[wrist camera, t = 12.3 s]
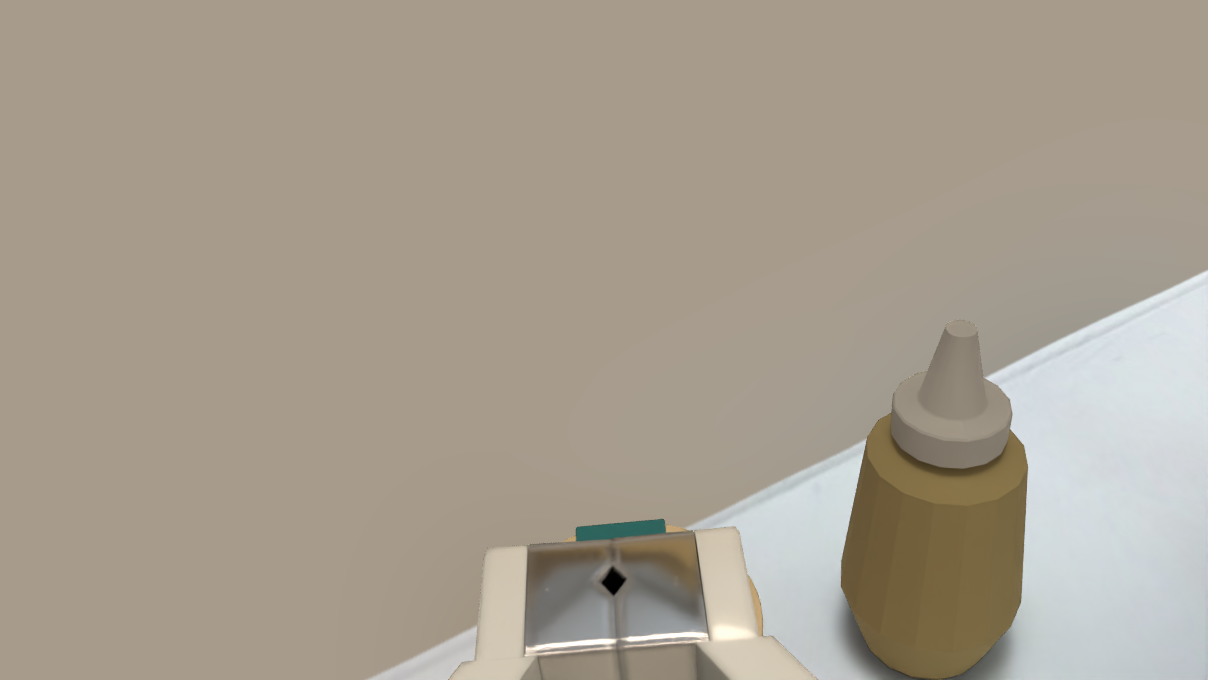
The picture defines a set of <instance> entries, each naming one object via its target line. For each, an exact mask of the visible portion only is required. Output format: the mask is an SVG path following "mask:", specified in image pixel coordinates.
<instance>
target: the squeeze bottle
mask: <svg viewBox="0 0 1208 680" xmlns="http://www.w3.org/2000/svg"><path fill="white" fill-rule="evenodd" d="M1011 420H1012V409H1011V404H1010V400H1009V398H1008V397H1007V396H1006V395H1005V394H1004V393H1003V391H1002V390H1001V389H1000V388H999V387H998V386H997V385H995V384H994V383H992V382H990V381H988V380H987V379H985V378H983V371H982V363H981V356H980V348H979V341H978V332H977V327H976V326H975V325H974V324H972V323H970V322H967V321H964V320H956V321H951V322H949V323H948V324H947V325H946V327H945V329H944V332H943V334H942V337H941V339H940V342H939V344H938V347H937V349H936V352H935V354H934V356H933V359H932V361H931V364H930V366H929V369H928V371H925V372H921V373H917V374H915V375H914V376H912V377H910V378H908V379H906V380H904V381H903V382H901V383H900V385H899V386H898V388H897V389H896V391H895V392H894V394H893V401H892V412H891V413H890V414H888V415H887V416H885V417H883V418H881V419H880V420H878V422H877V423H876V425H875V426H874V428H873V429H872V431H871V432H870V434H869V435H868V437H867V441H866V446H865V450H864V455H863V460H862V465H861V470H860V474H859V479H858V484H857V489H856V494H855V498H854V503H853V508H852V513H851V518H850V522H849V527H848V532H847V537H846V541H845V546H844V551H843V556H842V561H841V587H842V589H843V592H844V594H845V596H846V599H847V601H848V603H849V606H850V608H851V610H852V612H853V615H854V617H855V619H856V622H857V624H858V626H859V629H860V631H861V633H862V635H863V637H864V639H865V641H866V643H867V645H868V647H869V649H870V651H871V652H872V653H873V654H875V655H876V656H877V657H878V658H879V659H880V660H881V661H883V662H884V663H885V664H886V665H887V666H888V667H890V668H892V669H895V670H897V671H899V672H902V673H904V674H906V675H909V676H911V677H915V678H925V679H934V680H940V679H944V678H949V677H953V676H957V675H961V674H963V673H964V672H966V671H967V670H968V669H970V668H971V667H972V666H974V665H975V664H976V663H977V662H979V661H980V660H981V658H982V657H983V656H984V655H985V654H986V653H987V652H988V651H989V650H990V649H991V648H992V646H993V645H994V644H995V643H996V642H997V641H998V640H999V639H1000V638H1001V637H1002V635H1003V634H1004V633H1005V632H1006V631H1007V630H1008V629H1009V628H1010V627H1011V625H1012V622H1013V620H1014V617H1015V615H1016V613H1017V610H1018V608H1019V605H1020V603H1021V593H1022V573H1023V553H1024V534H1025V514H1026V494H1027V474H1028V464H1027V459H1026V454H1025V449H1024V445H1023V444H1022V443H1021V442H1020V440H1019V439H1018V438H1017V437H1016V436H1015V434H1014V433H1013V432H1012V431H1011V430H1010V425H1011Z"/></svg>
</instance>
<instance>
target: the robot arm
mask: <svg viewBox="0 0 1208 680" xmlns="http://www.w3.org/2000/svg"><path fill="white" fill-rule="evenodd" d="M448 680H818V679H817V678H816V677H815V676H814V675H813V674H812V673H811V672H810V671H808V670H807V669H806V668H805V667H804V666H803V665H802V664H801V663H800V662H799V661H798V660H797V659H796V658H795V657H794V656H793V655H792V654H791V653H790V652H789V651H788V650H787V649H785V648H784V647H783V646H782V645H781V644H780V643H779V642H778V641H777V640H776V639H775V638H774V637H773V636H763V637H760V636H759V631H758V625H757V620H756V615H755V610H754V605H753V600H752V595H751V590H750V584H749V579H748V574H747V569H746V564H745V559H744V554H743V549H742V543H741V538H740V533H739V531H738V530H737V528H736V527H735V526H734V527H724V528H713V529H703V530H695V531H694V533H693V530H691V531H681V532H670V533H660V534H650V535H640V536H630V537H619V538H611V539H606V540H590V541H574V542H560V543H559V542H558V543H542V544H530V545H523V546H507V547H492V548H487V550H486V553H485V556H484V559H483V570H482V581H481V592H480V603H479V615H478V626H477V638H476V649H475V661H468V662H462V663H461V664H460V665H459V667H458V668H457V669H456V670H455V672H454V673H453V674H452V675H451V677H450V678H449V679H448Z"/></svg>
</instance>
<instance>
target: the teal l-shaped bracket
mask: <svg viewBox="0 0 1208 680" xmlns="http://www.w3.org/2000/svg"><path fill="white" fill-rule="evenodd" d="M660 533H670V532H666V527H665V521H664V519H658V520H648V521H647V520H646V521H636V522H624V523H614V524H603V525H592V526H581V527H577V528H576V541H590V540H606V539H611V538H619V537H630V536H640V535H650V534H660Z"/></svg>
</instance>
